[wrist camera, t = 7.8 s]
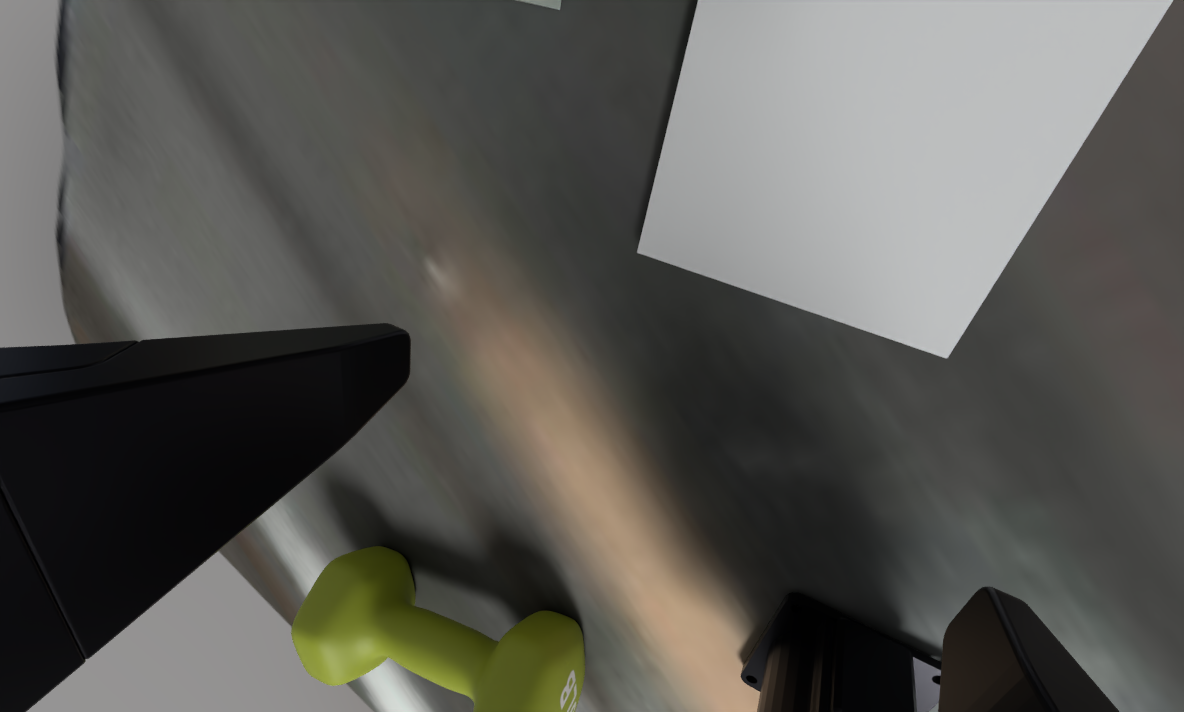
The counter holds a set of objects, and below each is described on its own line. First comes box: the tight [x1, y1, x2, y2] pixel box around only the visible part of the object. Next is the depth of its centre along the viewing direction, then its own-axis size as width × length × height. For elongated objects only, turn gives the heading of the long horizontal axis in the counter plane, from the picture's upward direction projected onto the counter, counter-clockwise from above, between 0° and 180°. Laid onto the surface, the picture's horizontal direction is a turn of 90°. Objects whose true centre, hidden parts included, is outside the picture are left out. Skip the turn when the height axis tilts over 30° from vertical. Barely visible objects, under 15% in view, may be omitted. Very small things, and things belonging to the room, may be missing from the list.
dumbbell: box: [291, 546, 585, 712], centre depth 31 cm, size 16×8×7 cm, turn 92°
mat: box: [637, 0, 1173, 358], centre depth 15 cm, size 10×10×1 cm
